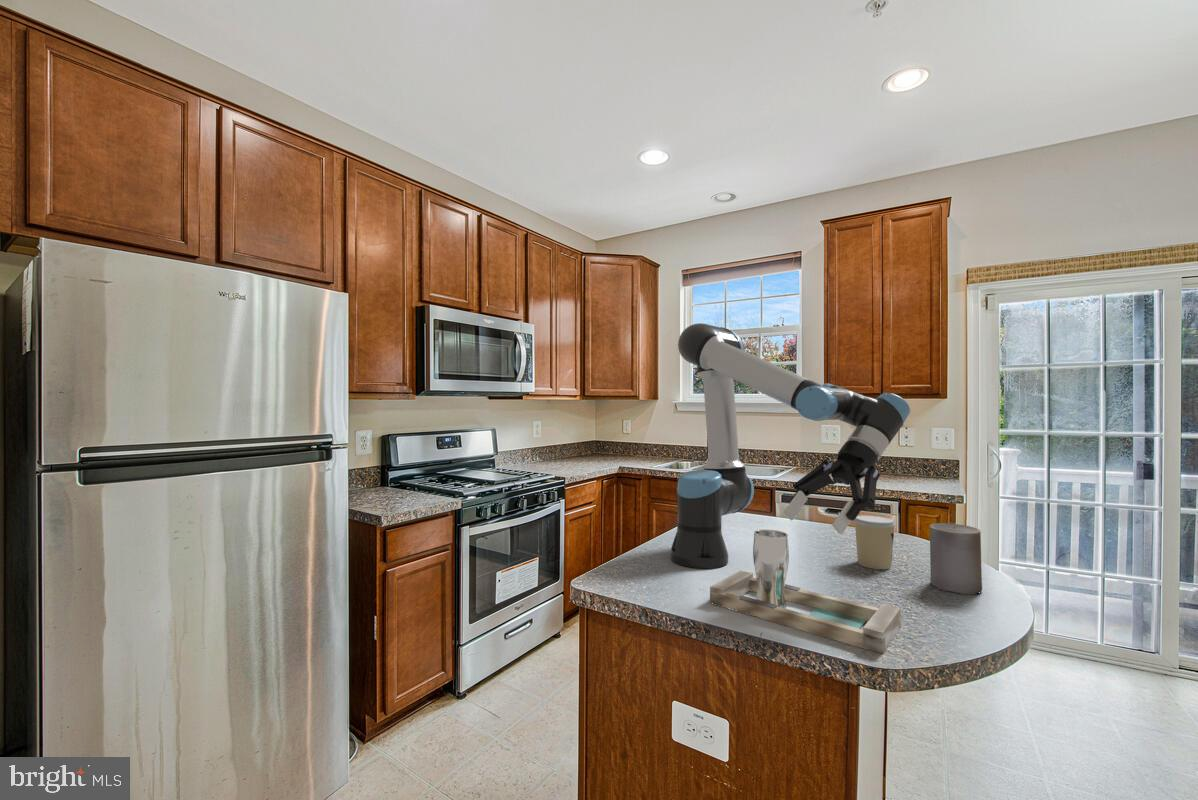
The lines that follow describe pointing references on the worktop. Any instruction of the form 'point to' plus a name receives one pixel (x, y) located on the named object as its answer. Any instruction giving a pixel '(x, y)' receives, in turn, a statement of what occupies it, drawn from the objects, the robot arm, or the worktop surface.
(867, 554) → the coffee cup
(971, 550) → the dark gray cylinder
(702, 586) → the worktop surface
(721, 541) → the robot arm
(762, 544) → the beer glass
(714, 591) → the wooden serving tray
